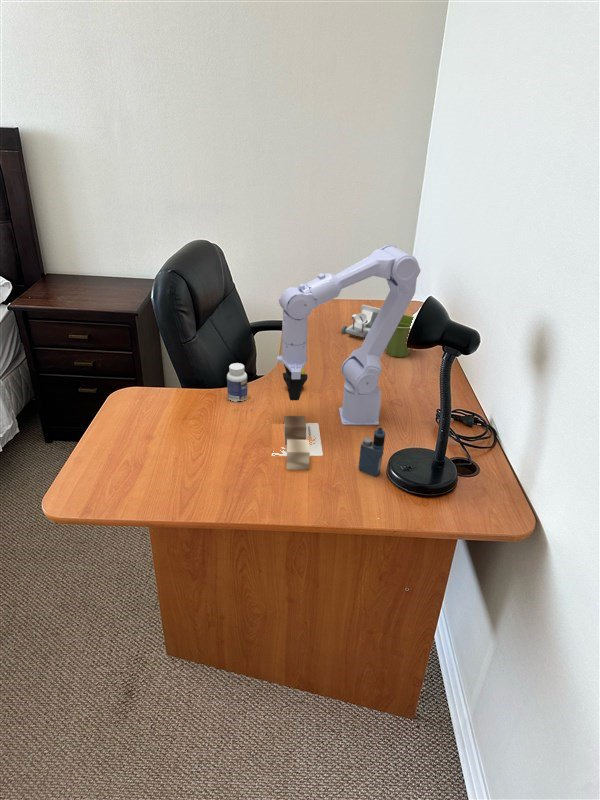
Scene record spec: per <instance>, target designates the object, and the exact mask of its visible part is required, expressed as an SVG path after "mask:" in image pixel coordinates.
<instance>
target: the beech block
mask: <svg viewBox="0 0 600 800" xmlns="http://www.w3.org/2000/svg"><path fill="white" fill-rule="evenodd" d="M310 457H311V456H310V449H309V440H295V439H287V456H286V470H287V471H289V470H294V471H295V470H296V471H297V470H298V471H300V470H303V471H308V470H309V469H310Z"/></svg>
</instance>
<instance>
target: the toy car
mask: <svg viewBox="0 0 600 800" xmlns="http://www.w3.org/2000/svg"><path fill="white" fill-rule="evenodd" d="M380 309H381V308H379V307H374V306H371V305H367V304H361V309H360V310H361V311H360V313H358V314H355V313H354V314H352V316H351V320H353V322H352V324H351V325H349V326H347V325H343V326H342V328H341V330H340V331H341V333H340V334H342V335H345V334H346V333H347V334H349V335H353V336H357V337H361V338H366V336H367V334H368V332H369V330H370V328H371V327H372V325H373V323H374V321H375V319H376V317H377V315H378V313H379V311H380Z"/></svg>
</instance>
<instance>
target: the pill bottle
mask: <svg viewBox="0 0 600 800" xmlns="http://www.w3.org/2000/svg"><path fill="white" fill-rule="evenodd" d="M228 368H229V371H228V372H227V374H226V382H227V383H226V386H227V399H228V401H230V400H231V401H230V402H232V401H234V402H233V403H238V402H237V401H243V400H245V399H246V400H247V399H248V374H247V373H246V371H245V365H244V364H243V363H241V362H240V363H239V362H235V363H231V364H230V365H229V366H228ZM246 400H245V401H246ZM243 402H244V401H243Z"/></svg>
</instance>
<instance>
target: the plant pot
mask: <svg viewBox="0 0 600 800" xmlns="http://www.w3.org/2000/svg"><path fill="white" fill-rule="evenodd" d="M414 317H415V316H412V315H409V314H404V315H403V317H402V318H401V320H400V322H399V324H398V326H397V328H396V330H395V331H394V333H393V335H392V337H391V339H390V341H389V343H388V345H387V346H386V348H385V350H386V354H387V355H389V356H391V357H398V358H405V357H408V356H409V355H410V351H411V349H408V348H407V347H406V342H407V337H408V334H409V330H410V326H411V323H412V320H413V318H414Z"/></svg>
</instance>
